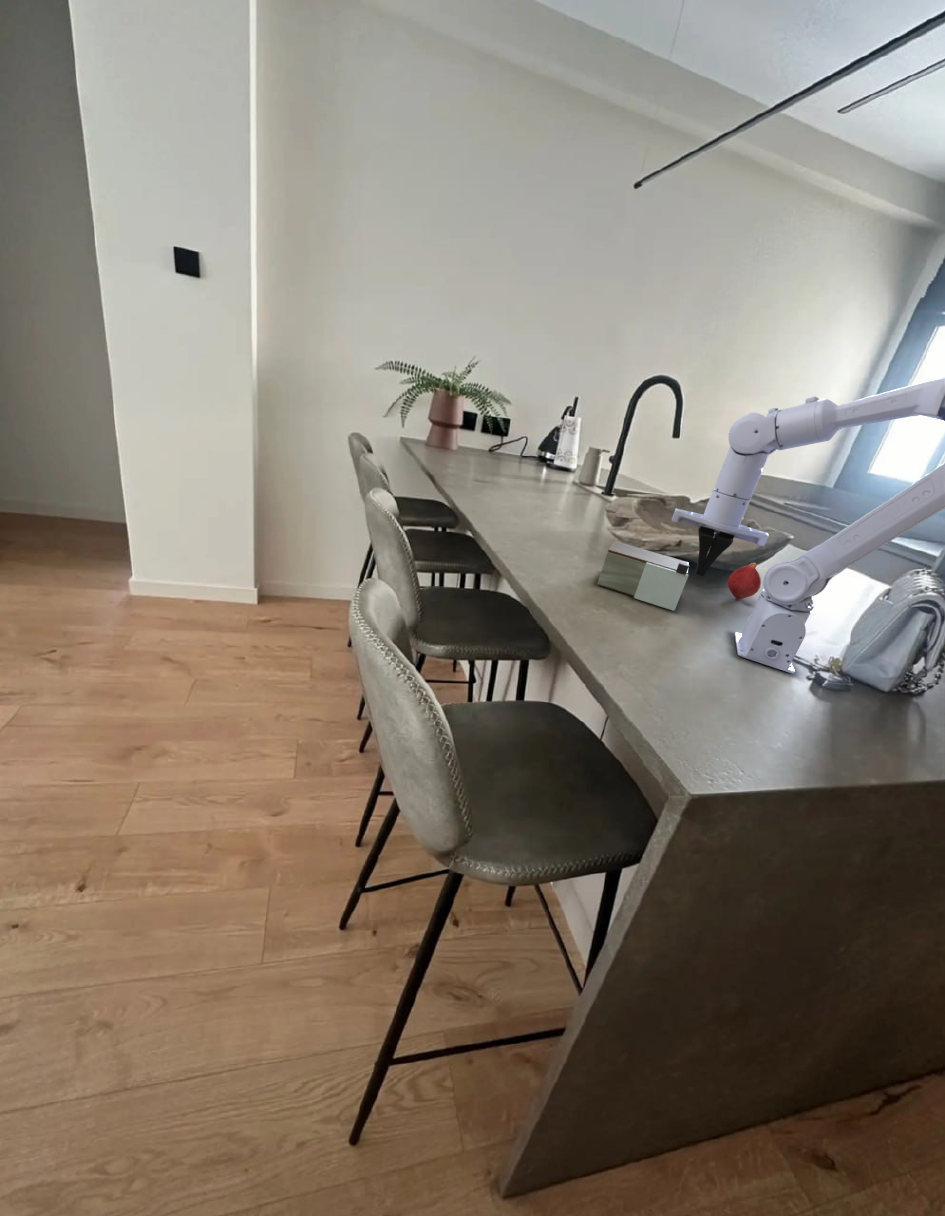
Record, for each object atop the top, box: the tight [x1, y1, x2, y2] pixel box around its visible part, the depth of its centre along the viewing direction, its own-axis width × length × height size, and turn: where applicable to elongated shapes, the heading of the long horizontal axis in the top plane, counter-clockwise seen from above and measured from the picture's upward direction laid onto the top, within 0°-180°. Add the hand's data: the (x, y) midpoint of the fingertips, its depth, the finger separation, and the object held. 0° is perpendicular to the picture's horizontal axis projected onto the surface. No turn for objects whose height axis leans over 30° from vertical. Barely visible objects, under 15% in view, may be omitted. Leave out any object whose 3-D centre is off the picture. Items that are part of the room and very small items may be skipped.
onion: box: [727, 562, 762, 601], centre depth 105 cm, size 6×6×8 cm
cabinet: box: [596, 540, 689, 598], centre depth 97 cm, size 8×14×7 cm, turn 68°
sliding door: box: [633, 562, 690, 612], centre depth 91 cm, size 1×7×8 cm, turn 68°
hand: (699, 573), depth 89 cm, fingers closed
